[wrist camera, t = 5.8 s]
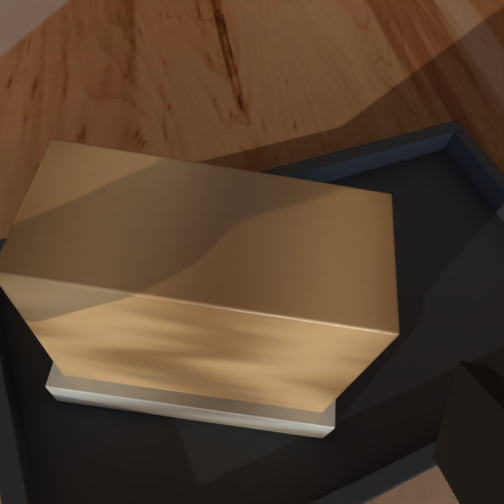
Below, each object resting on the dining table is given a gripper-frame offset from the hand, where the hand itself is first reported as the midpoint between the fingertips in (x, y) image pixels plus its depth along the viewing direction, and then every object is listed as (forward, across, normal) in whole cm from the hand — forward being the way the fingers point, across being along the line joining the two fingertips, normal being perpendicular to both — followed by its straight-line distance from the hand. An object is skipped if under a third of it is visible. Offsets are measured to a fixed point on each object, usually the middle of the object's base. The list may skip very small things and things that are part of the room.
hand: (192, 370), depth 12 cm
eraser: (+9, 0, -4) cm, 9 cm away
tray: (+11, +5, -2) cm, 12 cm away
